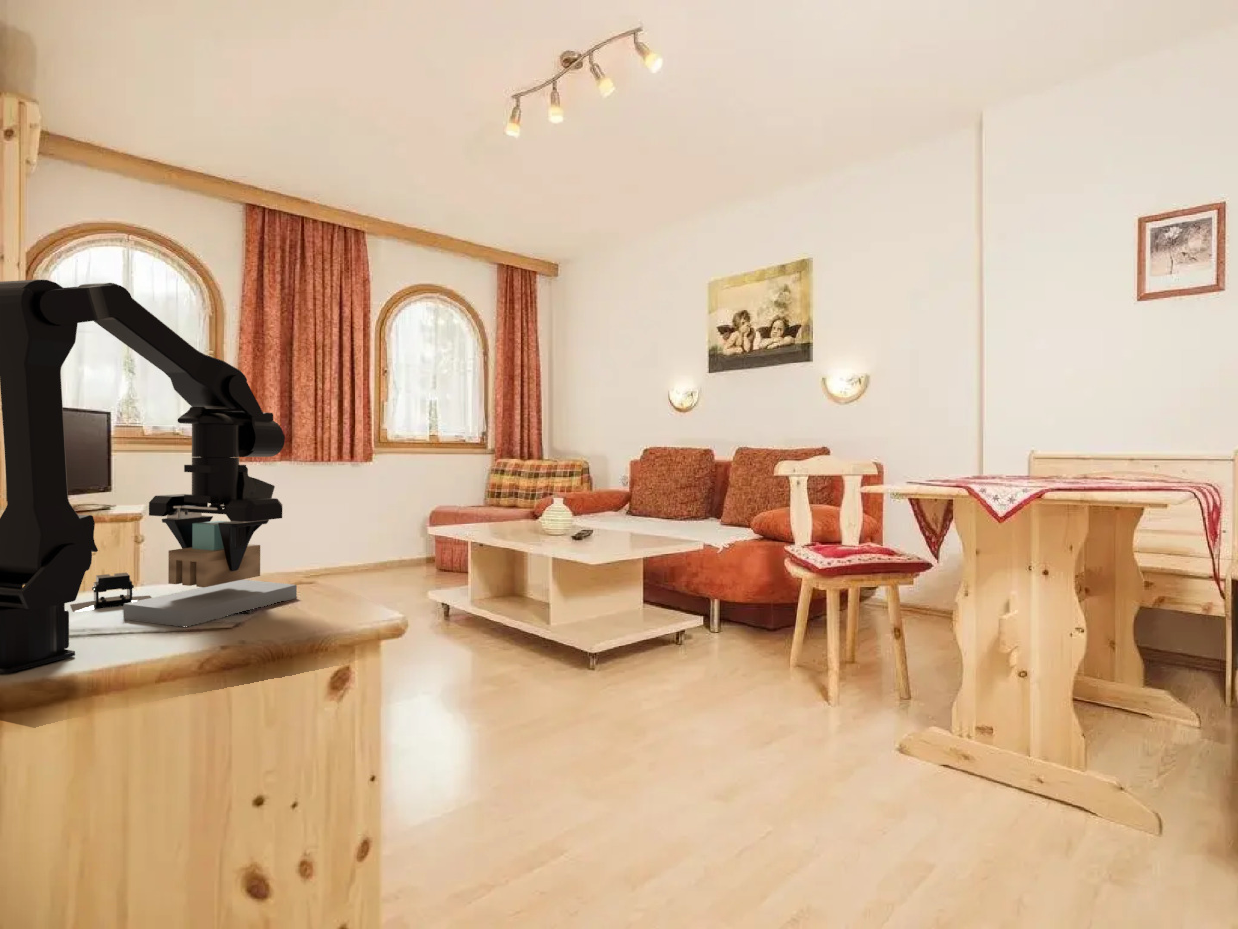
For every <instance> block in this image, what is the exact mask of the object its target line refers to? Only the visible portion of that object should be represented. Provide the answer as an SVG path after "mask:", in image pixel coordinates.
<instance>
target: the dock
mask: <svg viewBox="0 0 1238 929" xmlns="http://www.w3.org/2000/svg"><path fill="white" fill-rule="evenodd" d="M297 587H298V586H297V584H293V583H282V582H273V581H272V582H271V581H261V580H252V579H243V580H238V581H233V582H228V583H223V584H219V585H214V586H209V587H196V588H191V589H186V590H184V591H183V590H182V591H179V592H178V591H177V592H173V593H169V594H164V595H159V596H158V595H157V596H155V597H152V598H149V599H144V600H139V601H134V602H130V603H125V604H123V606H122V607H123V609H122V610H123V611H122V612H123V614H122V615H123V620H126V621H127V620H129V621H134V622H135V621H137V622H141V623H142V622H143V623H150V624H157V625H158V624H159V625H164V624H165V625H164V626H171V625H174V626H173V627H178V626H185V627H184V628H187V627H186V626H189V627H192V626H191V625H193V626H195V625H194V624H197V625H200V624H199V623H201V624H204V623H208V622H211V621H210V620H212V621H214V620H213V619H216V620H219V619H223V618H226V617H225V616H227V615H230V614H233V613H238V614H240V613H239V612H242V611H245V610H249V609H253V608H257V609H259V608H258V607H261V608H265V607H268V606H272V605H275V604H274V603H276V604H278V603H277V602H280V603H282V602H281V601H284V602H287V601H290V600H295V599H297V593H298V592H297V589H298V588H297ZM271 604H272V605H271ZM267 605H268V606H267ZM264 606H265V607H264ZM253 610H254V609H253ZM242 613H243V612H242ZM222 617H223V618H222ZM227 617H228V616H227ZM207 621H208V622H207ZM203 622H204V623H203Z"/></svg>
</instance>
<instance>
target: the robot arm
mask: <svg viewBox="0 0 1238 929" xmlns="http://www.w3.org/2000/svg"><path fill="white" fill-rule="evenodd" d="M88 322H94V323H95V324H97V325H98V326H100V327H101V328H102V329H103V330H105V331H106V332H107V333H109V334H111V335H112V336H113V337H114V338H116V339H117V340H119V341H121V342H122V343H123V344H124V345H126V346H127V347H128V348H130V349H131V350H133V351H134V352H136V353H137V354H138V355H140V356H141V357H142V358H144V359H145V360H146V361H148V362H149V363H151V364H152V365H153V366H154V367H156V368H157V369H159V370H160V371H162V372H163V373H164V374H165V375H166V376H167V377H168V378H169V379H170V381H171V385H172V387H173V390H174V391H175V392H176V393H177V394H178V395H179V396H180V397H181V398H182V399H183V400H185V402H186V403H187V404H188V405H189V406H190V407H189V409H188V410H187V411H186V412H185V413H183V414H182V415H180V416H179V417H178V418H177V423H178V424H186V425H187V424H188V425H191V464H184V465H183V472H184V473H191V493H188V494H187V493H179V494H176V493H175V494H162V495H161V494H159V495H154V496H153V497H152V499H151V500H150V501H149V502H148V516H150V517H151V516H152V517H154V516H155V517H165V518H162V519H161V522H162V523H164V524H165V525H166V526H167V527H168V528H169V530H170V531H171V533H172V534H173V536H174V537H175V539H176V541H177V542H178V544H179V546H180V548H181V549H183V548H190V547H192V533H193V523H201V522H211V521H212V520H213V518H214V516H213V514H214V515H215V514H216V515H226V517H227V518H228V519H229V521H230V522H222V523H218V525H219V529H220V534H221V538H222V542H223V547H224V551H225V556H226V560H227V564H228V567H229V570H230V571H236V570H238V569H239V567H240V564H241V561H242V559H243V556H244V554H245V551H246V548H247V546H248V544H250V541H251V539H252V536H253V535H254V533H255V532H256V531H257V530H258V529H259V528H260V527H261V526H262V525H266V524H268V523H269V521H271V520H278V519H279V520H280V519H283V503H282V502H281V501H280V500H279V499H278V498H276V497H275V498H273V495H274V491H275V487H276V486H275V485H274V484H272V483H269V482H266V481H263V480H262V479H259V478H255V477H252V476H250V475H249V469H248V467H247V464H240V458H272V457H275V456H277V455H278V454H279V453H280V452H281V451H282V450H283V449H284V445H285V440H286V437H285V436H286V435H285V433H284V430H283V429H282V427H281V426H280V425H279V423H277V422H276V421H274V413H273V412H264V411H263V410H262V408H261V406H260V404H259V402H258V401H257V399H256V396H255V395H254V393H253V391H252V389H251V387H250V385H249V383H248V379H247V377H246V375H245V374H244V373H243V372H242V371H241V370H240V369H239V368H236V367H235V366H233V365H231V364H230V363H228V362H226V361H224V360H222V359H220V358H217V357H214V356H210V355H207V354H205V353H203V352H202V351H200V350H197V349H196V348H195V347H194V346H192V345H191V344H190V343H189V342H188V341H186V340H185V339H184V338H183V337H181V336H180V335H179V334H178V333H177V332H175V331H174V330H173V329H172V328H170V326H168V325H167V324H165V323H164V322H163V321H161V320H160V319H159V318H157V317H156V316H155V315H154V314H153V313H152V312H150V311H149V310H148V309H146V307H144V306H143V305H142V304H140V303H139V302H138V301H137V300H135V299H134V298H133V297H132V295H131V293H130V292H129V291H128V290H127V288H125V287H124V286H122V285H119V284H117V283H114V282H97V283H84V284H80V285H79V286H71V287H63V286H61V285H60V284H58V283H57V282H54V281H52V280H48V279H24V280H23V279H22V280H8V281H7V280H6V281H5V280H4V281H0V403H1V415H2V418H1V420H2V430H3V431H2V433H3V446H4V463H5V476H6V477H5V478H6V492H7V505H6V508H5V509H4V511H3V513H1V516H0V674H10V673H14V672H19V671H22V670H26V669H30V668H34V667H38V666H42V665H45V664H49V663H53V662H56V661H57V662H58V661H61V660H64V659H67V658H72V657H75V656H76V651H75V650H71V649H68V648H69V647H70V611H69V610H67V609H66V608H65V607H66V606H65V605H66V604H68V603H73V602H75V601H76V600H77V597H78V594H79V591H80V589H81V585H82V582H83V580H84V578H85V574H86V571H87V572H88V571H89V570H90V568H91V565H92V561H93V553H97V552H98V551H99V550H98V548H97V545H96V543H95V537H94V534H95V525H96V522H95V519H94V516H93V515H91V514H78V513H77V511H76V510H75V509H74V507H73V506H72V505H71V503H70V500H69V493H68V476H67V475H68V474H67V460H66V459H67V457H66V456H67V455H66V442H65V441H66V439H65V423H64V408H63V392H62V367H63V365H64V363H65V361H66V360H67V358H68V356H69V354H70V353H71V351H72V348H74V345H75V344H76V340H77V331H78V323H79V324H80V323H88ZM209 504H210V505H209ZM202 514H212V515H202Z"/></svg>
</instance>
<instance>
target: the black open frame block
mask: <svg viewBox="0 0 1238 929" xmlns="http://www.w3.org/2000/svg"><path fill="white" fill-rule="evenodd" d="M134 586H135V585H134V584H133V581H132V580H131V575H130V574H129V573H128V572H120V573H119V572H117V573H114V574H113V575H110V573H108V574H98V575H95V581H94V582H93V586H92V587H91V590H92V591H93V600H92V601H91V600H90V601H83V602H78V603H71V604H69V606H70V609H71V611H72V612H73V613H75V612H83V611H84V612H85V611H92V610H93V611H94V610H100V609H108V608H118V607H123V604H125V603H130V602H134V601H139V600H144V599H149V598H153V597H152V596H151V595H137V596H133V589H134V588H135V587H134ZM113 590H114V591H115V590H122V591H123V590H124V591H125V590H126V595H125V594H119V595H116V596H109V597H108V596H107V597H105V596H100V595H99V593H105V592H107V591H113ZM99 596H100V598H99Z"/></svg>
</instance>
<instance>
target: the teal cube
mask: <svg viewBox="0 0 1238 929" xmlns="http://www.w3.org/2000/svg"><path fill="white" fill-rule="evenodd" d="M222 522H231V521H230V520H229V521H227V520H211V521H210V522H201V523H193V533H192V549H203V550H221V549H224V547H223V542H222V538H221V534H220V529H219V525H218V523H222Z"/></svg>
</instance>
